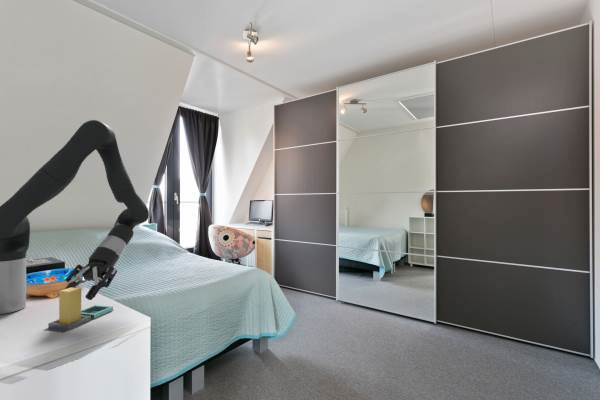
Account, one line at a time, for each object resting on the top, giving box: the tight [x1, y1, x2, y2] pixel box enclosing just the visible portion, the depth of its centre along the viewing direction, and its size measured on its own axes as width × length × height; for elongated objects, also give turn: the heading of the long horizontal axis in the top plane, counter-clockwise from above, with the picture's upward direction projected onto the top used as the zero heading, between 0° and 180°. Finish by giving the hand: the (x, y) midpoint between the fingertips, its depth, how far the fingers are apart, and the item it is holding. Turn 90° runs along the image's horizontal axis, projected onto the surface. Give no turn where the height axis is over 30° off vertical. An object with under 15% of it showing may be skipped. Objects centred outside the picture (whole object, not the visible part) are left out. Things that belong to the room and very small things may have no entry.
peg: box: [58, 287, 82, 324], centre depth 87 cm, size 4×4×10 cm
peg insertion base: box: [43, 304, 114, 334], centre depth 90 cm, size 7×17×2 cm, turn 168°
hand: (76, 297), depth 88 cm, fingers open, 8 cm apart
